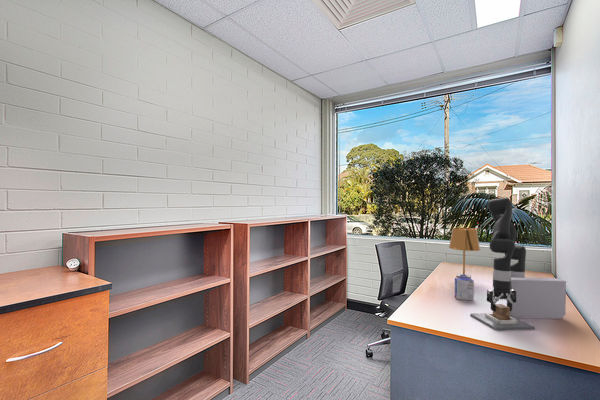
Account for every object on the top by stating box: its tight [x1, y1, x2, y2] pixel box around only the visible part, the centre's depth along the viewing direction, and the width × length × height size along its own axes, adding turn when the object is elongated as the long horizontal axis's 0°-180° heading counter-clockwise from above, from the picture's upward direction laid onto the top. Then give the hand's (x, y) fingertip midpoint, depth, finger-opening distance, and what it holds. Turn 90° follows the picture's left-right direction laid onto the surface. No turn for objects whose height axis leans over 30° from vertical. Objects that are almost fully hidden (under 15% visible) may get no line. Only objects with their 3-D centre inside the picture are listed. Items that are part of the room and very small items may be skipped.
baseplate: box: [469, 312, 536, 331], centre depth 150 cm, size 20×18×3 cm
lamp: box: [448, 227, 481, 279], centre depth 224 cm, size 21×21×41 cm
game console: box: [506, 277, 567, 320], centre depth 159 cm, size 6×27×20 cm, turn 88°
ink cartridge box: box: [454, 275, 475, 301], centre depth 187 cm, size 10×6×14 cm, turn 78°
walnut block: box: [492, 303, 510, 320], centre depth 150 cm, size 5×5×7 cm
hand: (501, 310), depth 150 cm, fingers open, 8 cm apart
